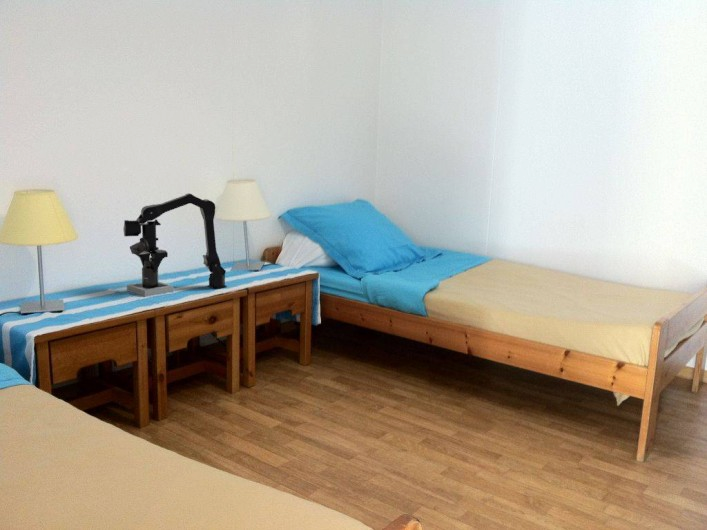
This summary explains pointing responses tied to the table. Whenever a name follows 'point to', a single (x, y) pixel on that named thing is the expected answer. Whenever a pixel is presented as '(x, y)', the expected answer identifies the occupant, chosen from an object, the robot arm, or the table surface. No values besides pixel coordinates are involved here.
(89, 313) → the table surface
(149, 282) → the supplement bottle
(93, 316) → the table surface
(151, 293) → the tray
